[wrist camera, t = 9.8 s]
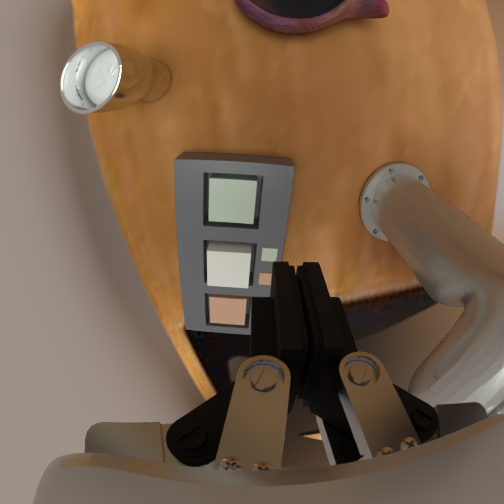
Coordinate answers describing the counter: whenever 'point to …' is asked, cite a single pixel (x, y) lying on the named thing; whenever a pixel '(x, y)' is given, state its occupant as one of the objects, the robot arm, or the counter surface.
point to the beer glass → (111, 78)
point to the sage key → (232, 197)
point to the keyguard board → (228, 229)
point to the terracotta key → (227, 309)
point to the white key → (228, 264)
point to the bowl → (309, 13)
